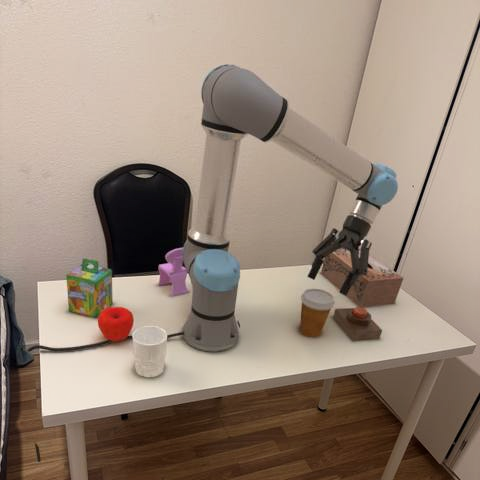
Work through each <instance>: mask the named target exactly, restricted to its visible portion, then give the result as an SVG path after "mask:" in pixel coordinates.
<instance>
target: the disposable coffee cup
mask: <svg viewBox="0 0 480 480" xmlns="http://www.w3.org/2000/svg"><path fill="white" fill-rule="evenodd" d="M300 299H301V306H300V307H301V308H300V318H299V319H300V321H299V331H300V333H301V334H302V335H304V336H306V337H310V338H316V337H320V335H321V333H322V332H323V329H324V327H325V324H326V322H327V319H328V318H329V314H330V312H331V310H332V308H333V307H334V306H335V298H334V296H333V295H332V294H331V293H330V292H329V291H327V290H325V289H321V288H307V289H305V290H304V292H302V294H301V296H300Z"/></svg>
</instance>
